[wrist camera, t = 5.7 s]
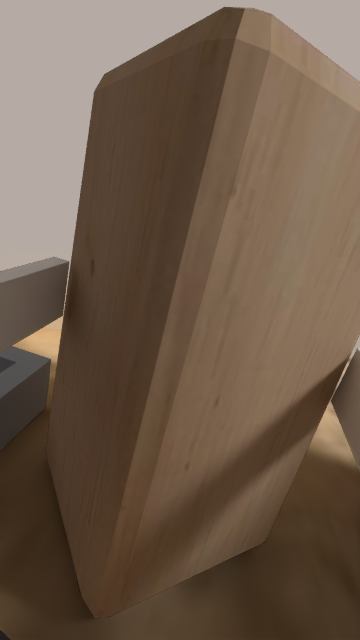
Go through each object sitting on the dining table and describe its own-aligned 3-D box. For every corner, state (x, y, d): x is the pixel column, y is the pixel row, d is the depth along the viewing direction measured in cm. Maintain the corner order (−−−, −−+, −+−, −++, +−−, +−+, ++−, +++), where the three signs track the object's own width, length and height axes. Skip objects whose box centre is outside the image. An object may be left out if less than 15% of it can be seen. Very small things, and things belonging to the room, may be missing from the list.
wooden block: (40, 451, 20) (90, 67, 14) (179, 427, 26) (262, 144, 19) (85, 642, 12) (249, -42, 6) (271, 548, 18) (462, 140, 11)
